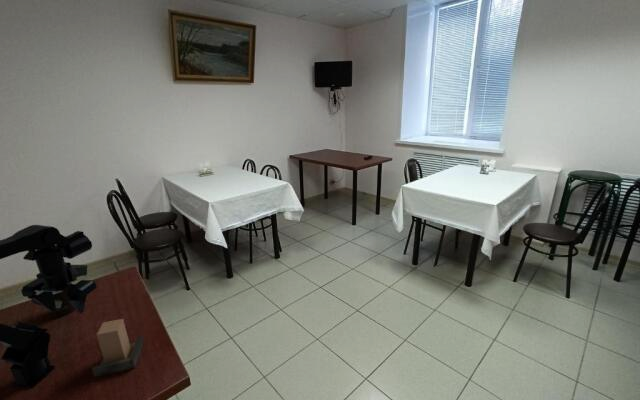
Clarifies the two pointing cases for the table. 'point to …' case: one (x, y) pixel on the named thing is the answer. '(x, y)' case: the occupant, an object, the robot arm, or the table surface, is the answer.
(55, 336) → the table surface
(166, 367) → the table surface
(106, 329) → the tan block
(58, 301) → the black angular block
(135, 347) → the grey shallow square piece
